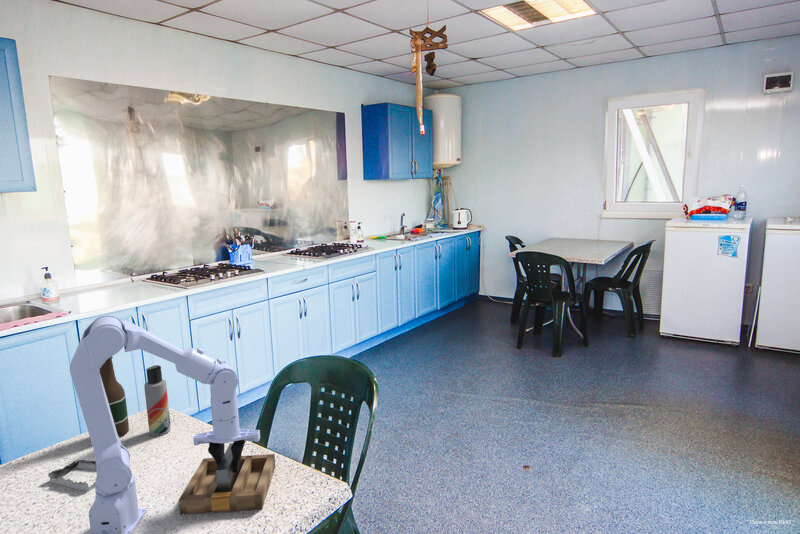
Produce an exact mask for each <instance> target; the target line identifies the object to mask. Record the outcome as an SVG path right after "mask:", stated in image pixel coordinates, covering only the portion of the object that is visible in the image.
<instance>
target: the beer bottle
mask: <svg viewBox="0 0 800 534" xmlns="http://www.w3.org/2000/svg"><path fill="white" fill-rule="evenodd" d="M113 358H114V357H113V356H112V357H110V358H108V359H107V360H106V361H105V363H104V364H103V365H102V366H101V368H100V369H99V372H100V376H101V379H102V383H103V386H104V389H105V393H106V396H107V400H108V403H109V407H110V410H111V414H112V417H113V420H114V424H115V427H116V431H117V434H118V436H119V437H120V438H122V437H121V436H123V437H125V436H124V435H125V434H126V435H127V434H128V433H129V431H130V426H129V425H130V424H129V416H128V408H127V407H128V406H127V399H126V398H127V397H126V392H125V388H124V387H123V386H122V384H121V383H119V382H118V380H117V377H116V374H115V369H114V364H113Z"/></svg>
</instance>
